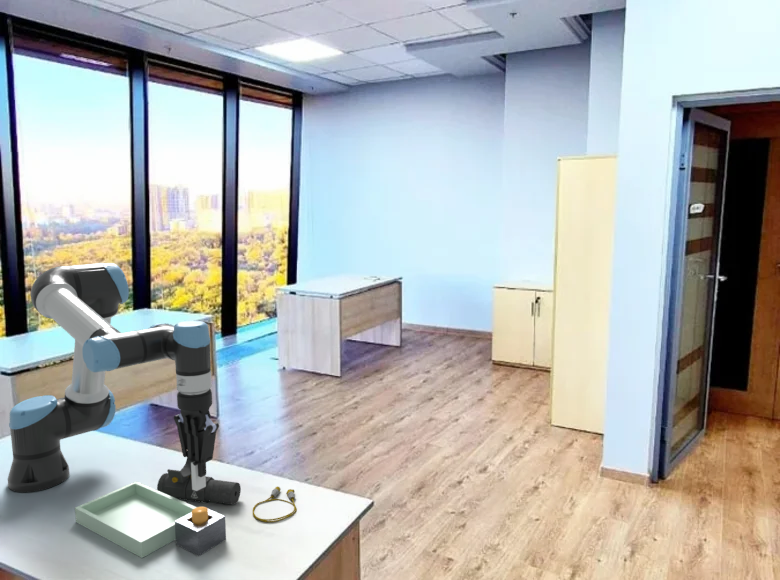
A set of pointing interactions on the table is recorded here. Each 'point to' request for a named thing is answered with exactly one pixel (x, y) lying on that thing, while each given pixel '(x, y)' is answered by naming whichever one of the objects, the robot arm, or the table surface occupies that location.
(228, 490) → the laser sight
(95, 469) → the table surface
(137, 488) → the tray
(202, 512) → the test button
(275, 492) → the extension cord
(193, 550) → the grey square holder
